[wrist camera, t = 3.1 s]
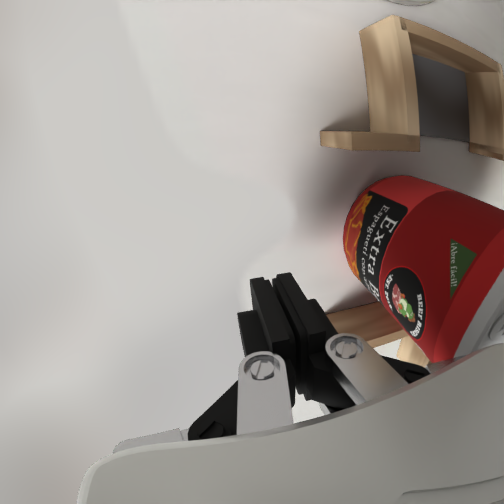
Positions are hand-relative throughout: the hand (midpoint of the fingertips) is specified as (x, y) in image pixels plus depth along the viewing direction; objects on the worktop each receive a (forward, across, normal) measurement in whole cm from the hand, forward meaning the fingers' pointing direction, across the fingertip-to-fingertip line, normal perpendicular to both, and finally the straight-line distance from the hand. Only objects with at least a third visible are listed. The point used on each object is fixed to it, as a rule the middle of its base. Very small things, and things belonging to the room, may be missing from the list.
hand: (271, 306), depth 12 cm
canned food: (+5, -9, 0) cm, 10 cm away
